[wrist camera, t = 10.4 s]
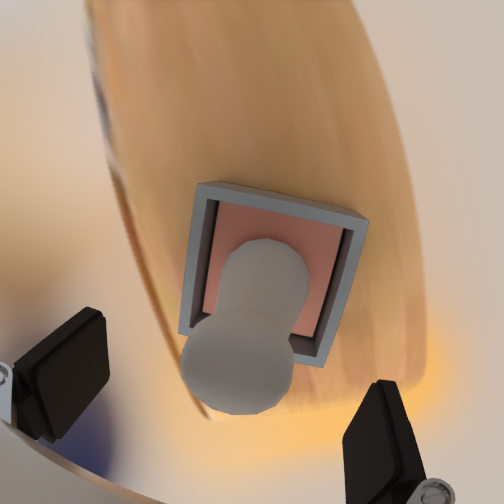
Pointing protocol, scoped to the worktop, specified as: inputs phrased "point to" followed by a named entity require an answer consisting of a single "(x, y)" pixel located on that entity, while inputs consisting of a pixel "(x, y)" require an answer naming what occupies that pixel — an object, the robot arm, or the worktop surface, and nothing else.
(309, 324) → the pan
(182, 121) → the worktop surface
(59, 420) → the robot arm
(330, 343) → the press housing
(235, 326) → the grey bowling pin
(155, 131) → the worktop surface
